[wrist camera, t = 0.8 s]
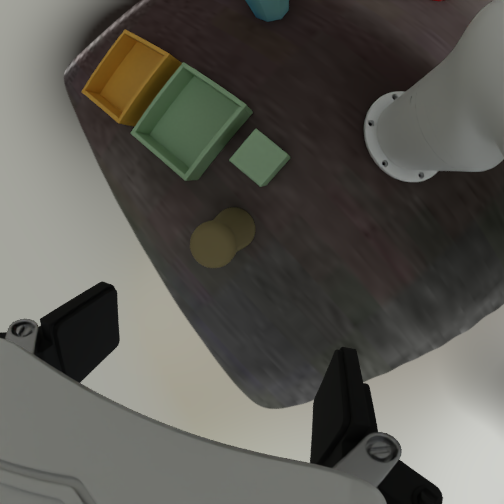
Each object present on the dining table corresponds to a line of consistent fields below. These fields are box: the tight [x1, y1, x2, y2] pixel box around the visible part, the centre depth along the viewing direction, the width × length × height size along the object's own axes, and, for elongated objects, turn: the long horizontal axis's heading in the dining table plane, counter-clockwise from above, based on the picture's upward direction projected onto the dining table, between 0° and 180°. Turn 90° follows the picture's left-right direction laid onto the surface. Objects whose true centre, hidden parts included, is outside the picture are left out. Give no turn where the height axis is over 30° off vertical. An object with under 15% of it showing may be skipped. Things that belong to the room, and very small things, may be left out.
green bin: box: [131, 62, 253, 181], centre depth 35 cm, size 12×11×4 cm
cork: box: [190, 207, 255, 268], centre depth 35 cm, size 6×6×11 cm
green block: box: [229, 129, 291, 187], centre depth 34 cm, size 5×5×5 cm
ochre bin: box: [82, 30, 182, 126], centre depth 34 cm, size 12×11×4 cm
